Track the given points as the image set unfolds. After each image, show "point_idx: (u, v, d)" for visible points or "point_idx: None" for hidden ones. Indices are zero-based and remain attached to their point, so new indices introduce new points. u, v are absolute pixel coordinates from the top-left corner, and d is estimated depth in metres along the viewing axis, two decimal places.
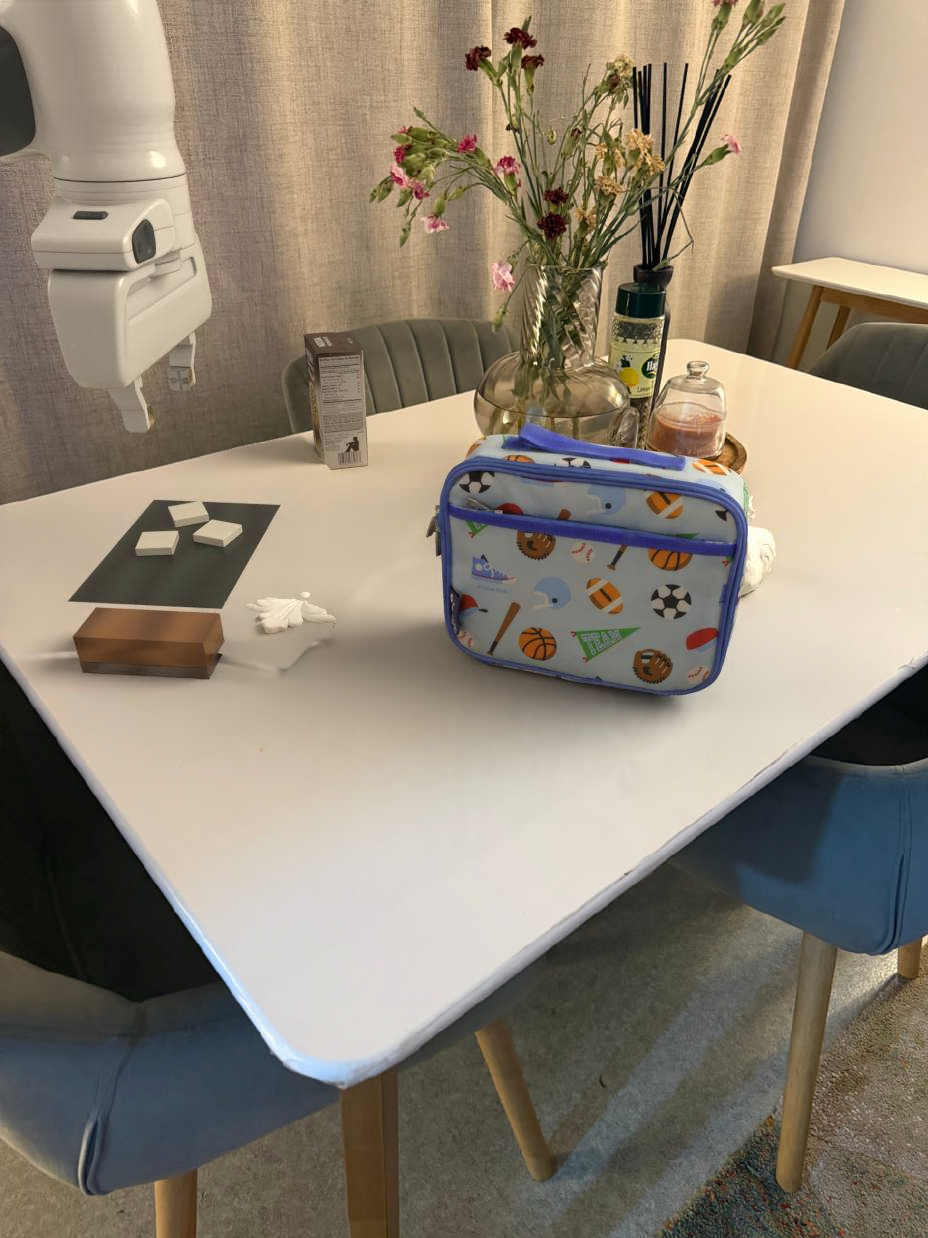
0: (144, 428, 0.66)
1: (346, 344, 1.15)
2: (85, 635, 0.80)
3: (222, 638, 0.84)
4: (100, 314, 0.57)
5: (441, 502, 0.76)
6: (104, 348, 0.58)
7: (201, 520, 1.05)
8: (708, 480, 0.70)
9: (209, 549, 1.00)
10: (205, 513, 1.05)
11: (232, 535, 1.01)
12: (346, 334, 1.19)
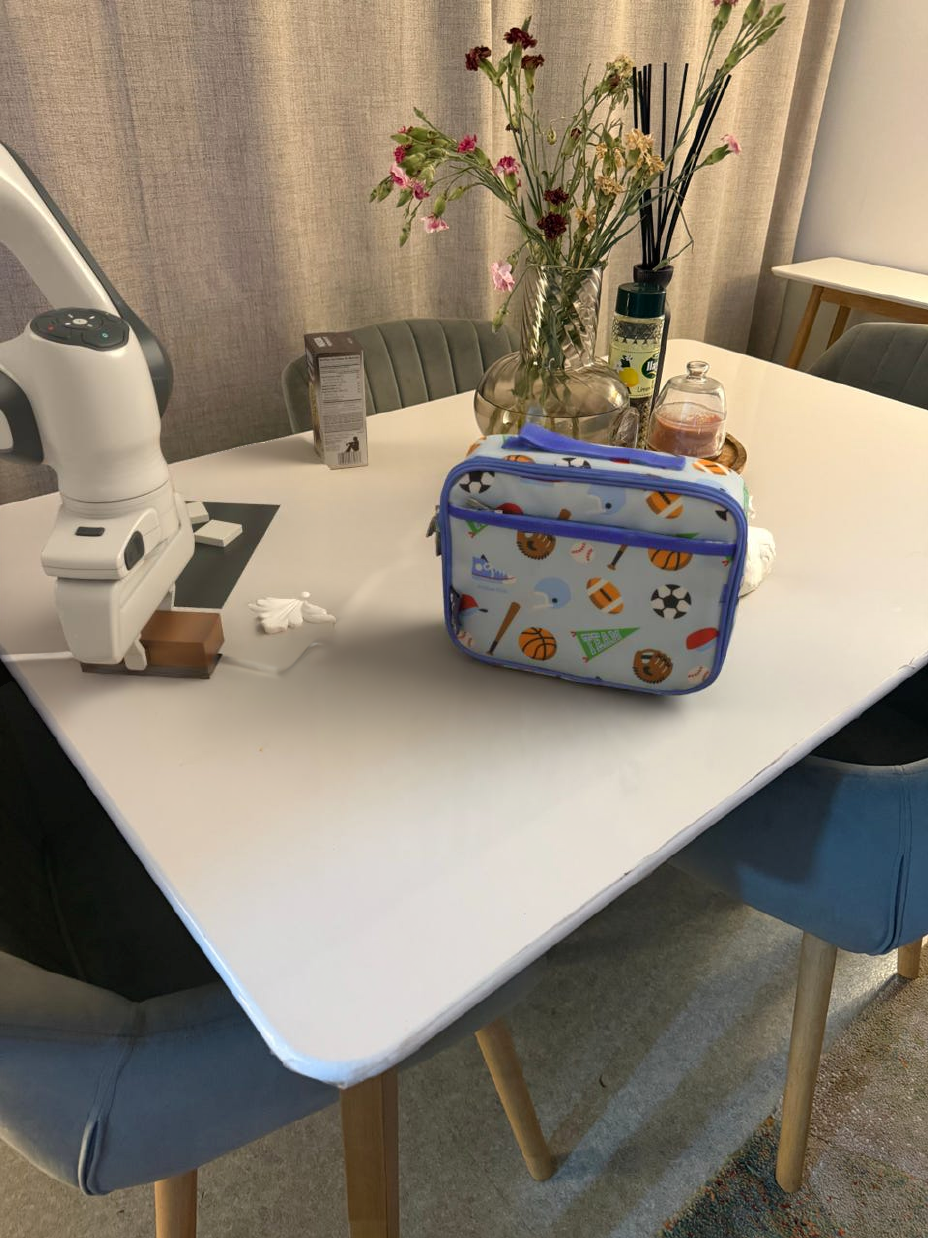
0: (142, 667, 0.79)
1: (346, 344, 1.15)
2: None
3: (222, 638, 0.84)
4: (98, 614, 0.69)
5: (441, 502, 0.76)
6: (101, 639, 0.70)
7: (201, 520, 1.05)
8: (708, 480, 0.70)
9: (209, 549, 1.00)
10: (205, 513, 1.05)
11: (232, 535, 1.01)
12: (346, 334, 1.19)
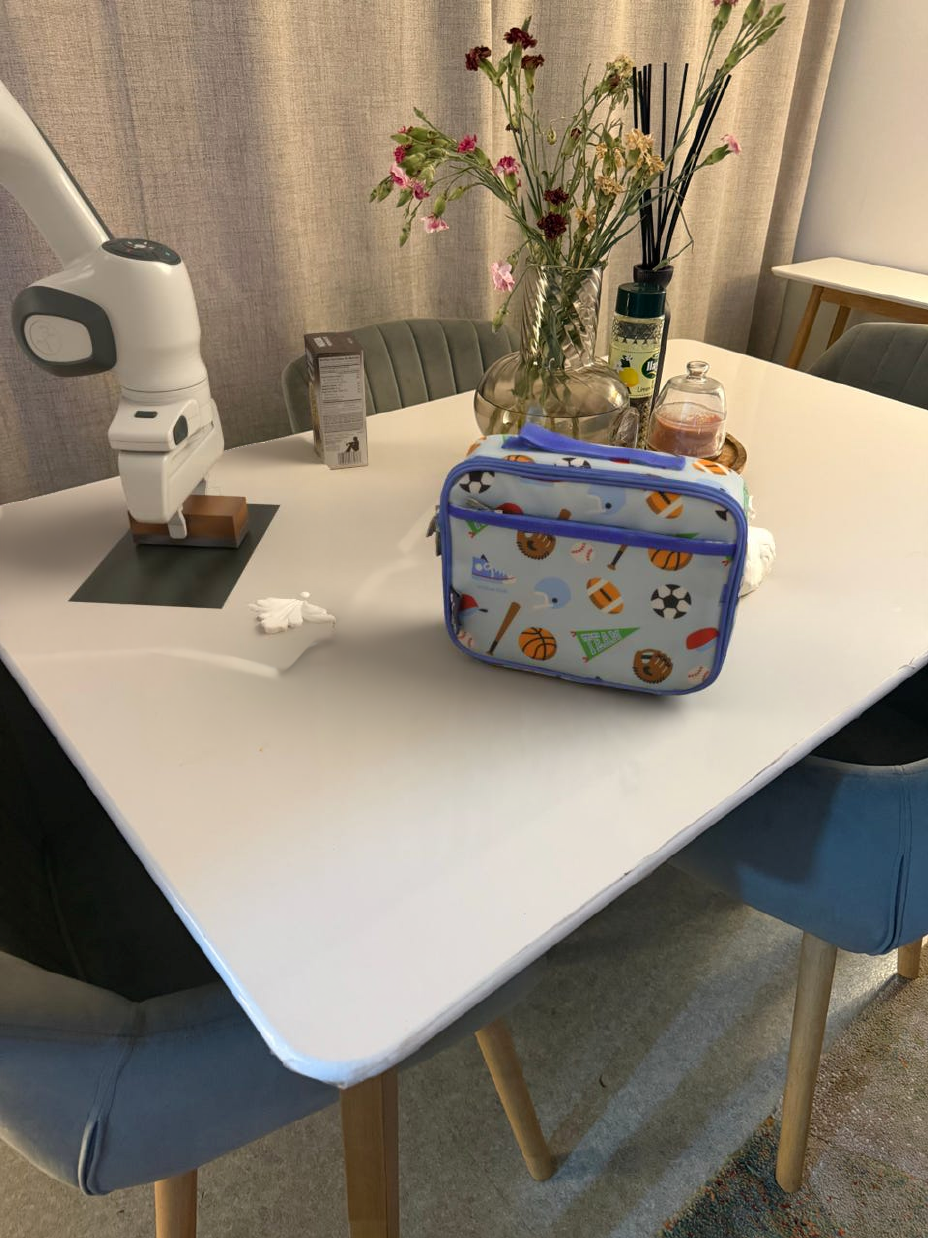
0: (183, 535, 0.98)
1: (346, 344, 1.15)
2: None
3: (247, 518, 1.03)
4: (152, 479, 0.88)
5: (441, 502, 0.76)
6: (154, 500, 0.89)
7: None
8: (708, 480, 0.70)
9: (209, 549, 1.00)
10: None
11: None
12: (346, 334, 1.19)
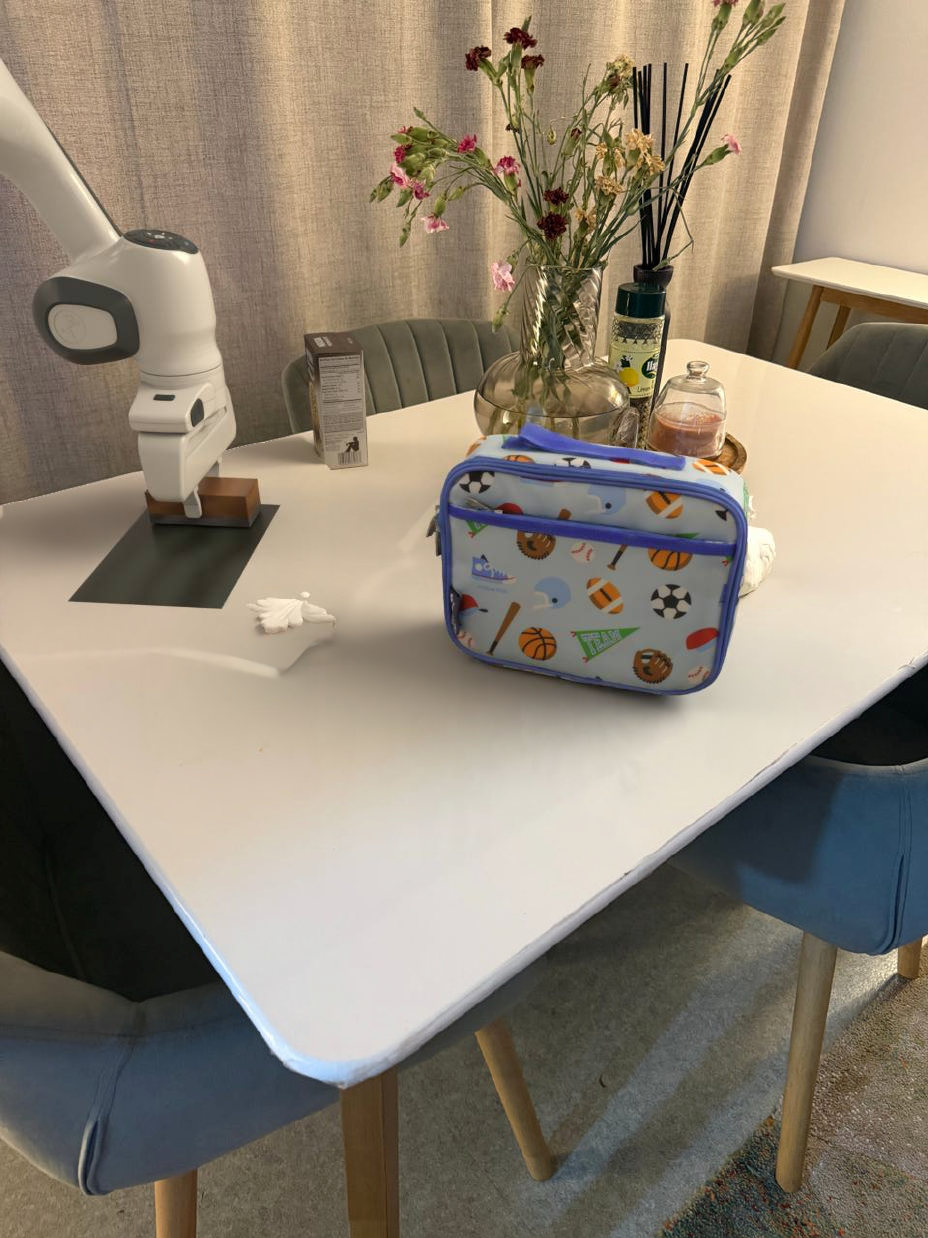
0: (198, 515, 1.02)
1: (346, 344, 1.15)
2: None
3: (259, 499, 1.07)
4: (170, 459, 0.92)
5: (441, 502, 0.76)
6: (172, 479, 0.93)
7: None
8: (708, 480, 0.70)
9: (209, 549, 1.00)
10: None
11: None
12: (346, 334, 1.19)
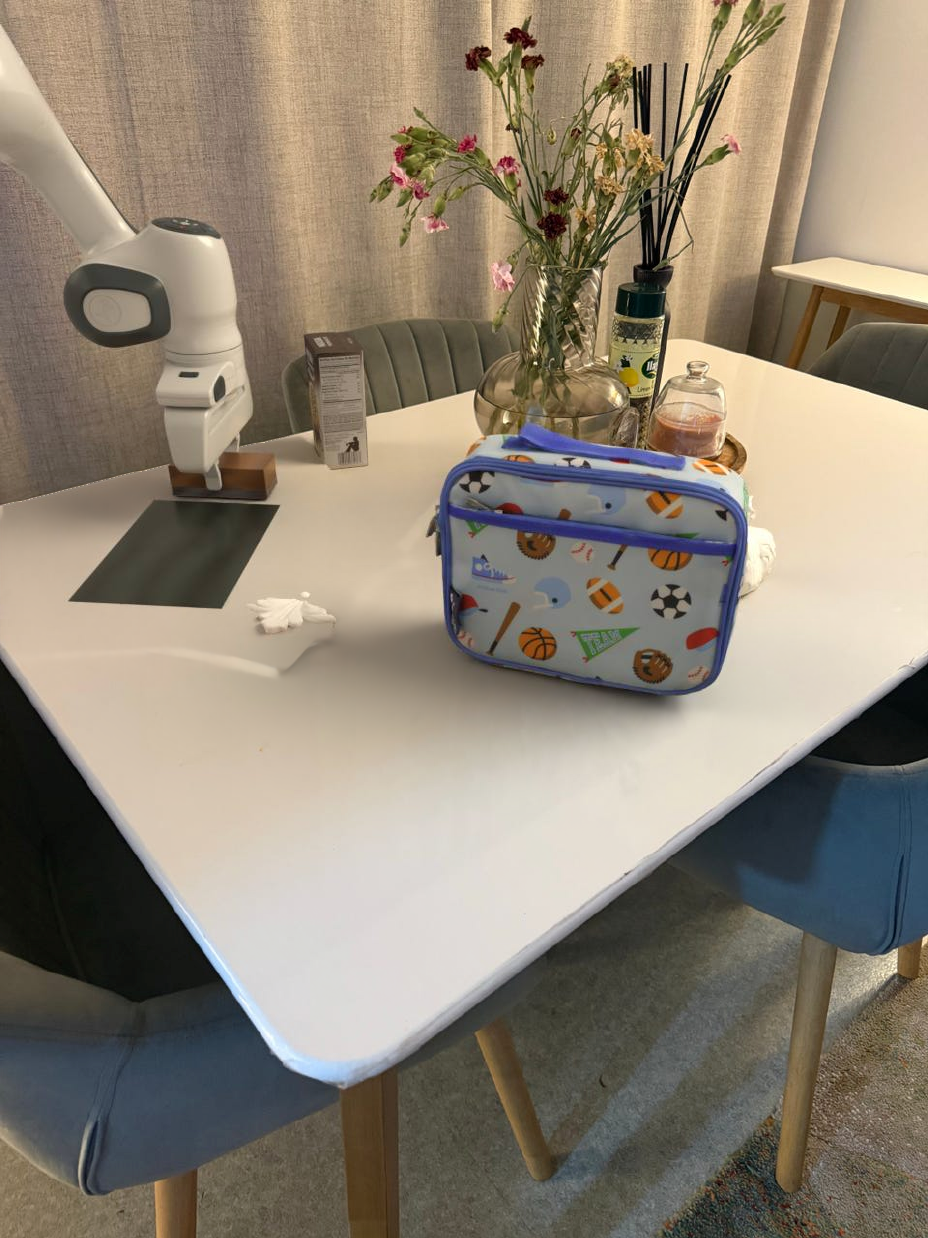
0: (218, 487, 1.08)
1: (346, 344, 1.15)
2: None
3: (275, 473, 1.13)
4: (194, 432, 0.98)
5: (441, 502, 0.76)
6: (196, 451, 0.99)
7: None
8: (708, 480, 0.70)
9: (209, 549, 1.00)
10: None
11: None
12: (346, 334, 1.19)
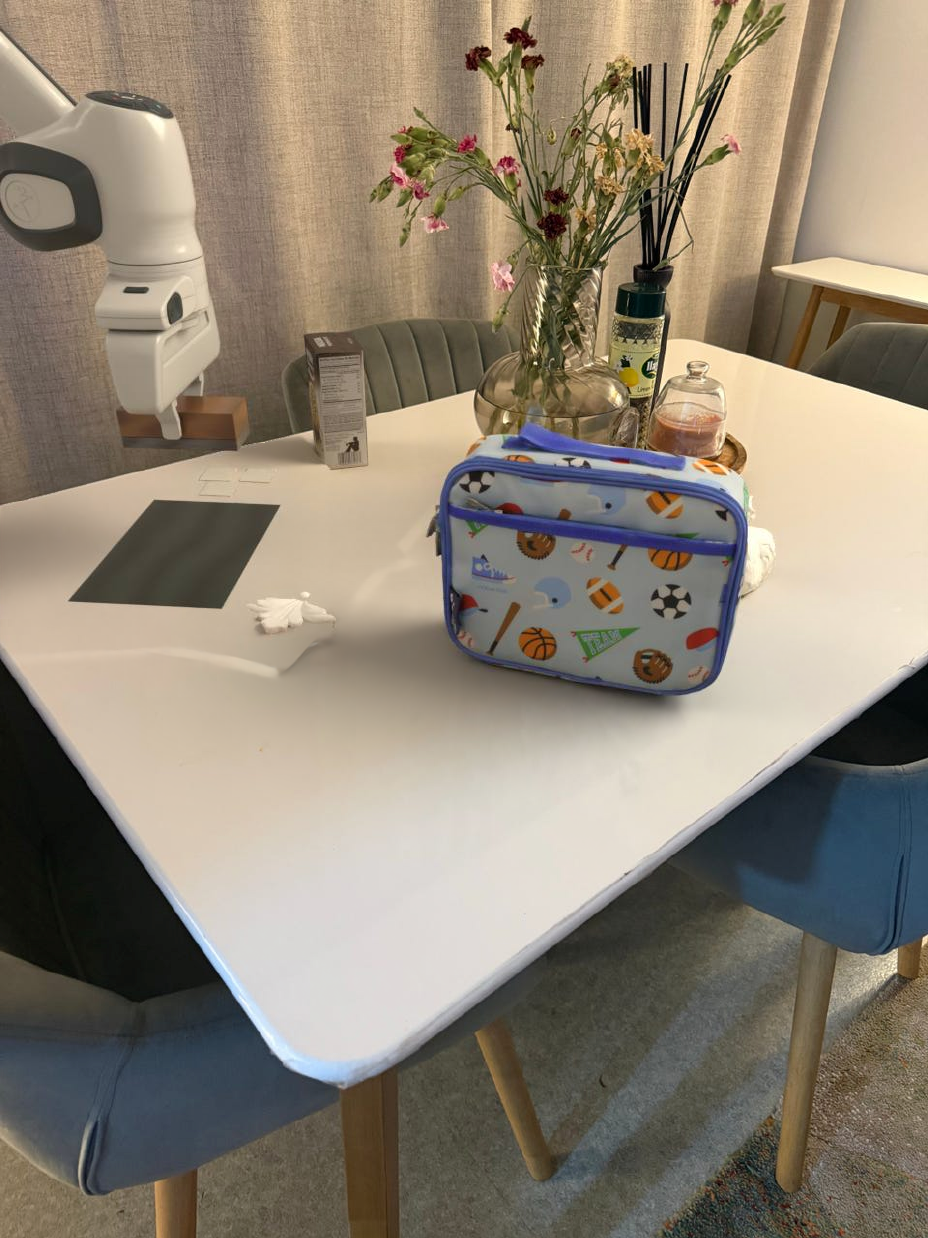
0: (177, 436, 0.89)
1: (346, 344, 1.15)
2: None
3: (247, 422, 0.94)
4: (144, 361, 0.79)
5: (441, 502, 0.76)
6: (146, 385, 0.80)
7: None
8: (708, 480, 0.70)
9: (209, 549, 1.00)
10: (228, 494, 1.12)
11: None
12: (346, 334, 1.19)
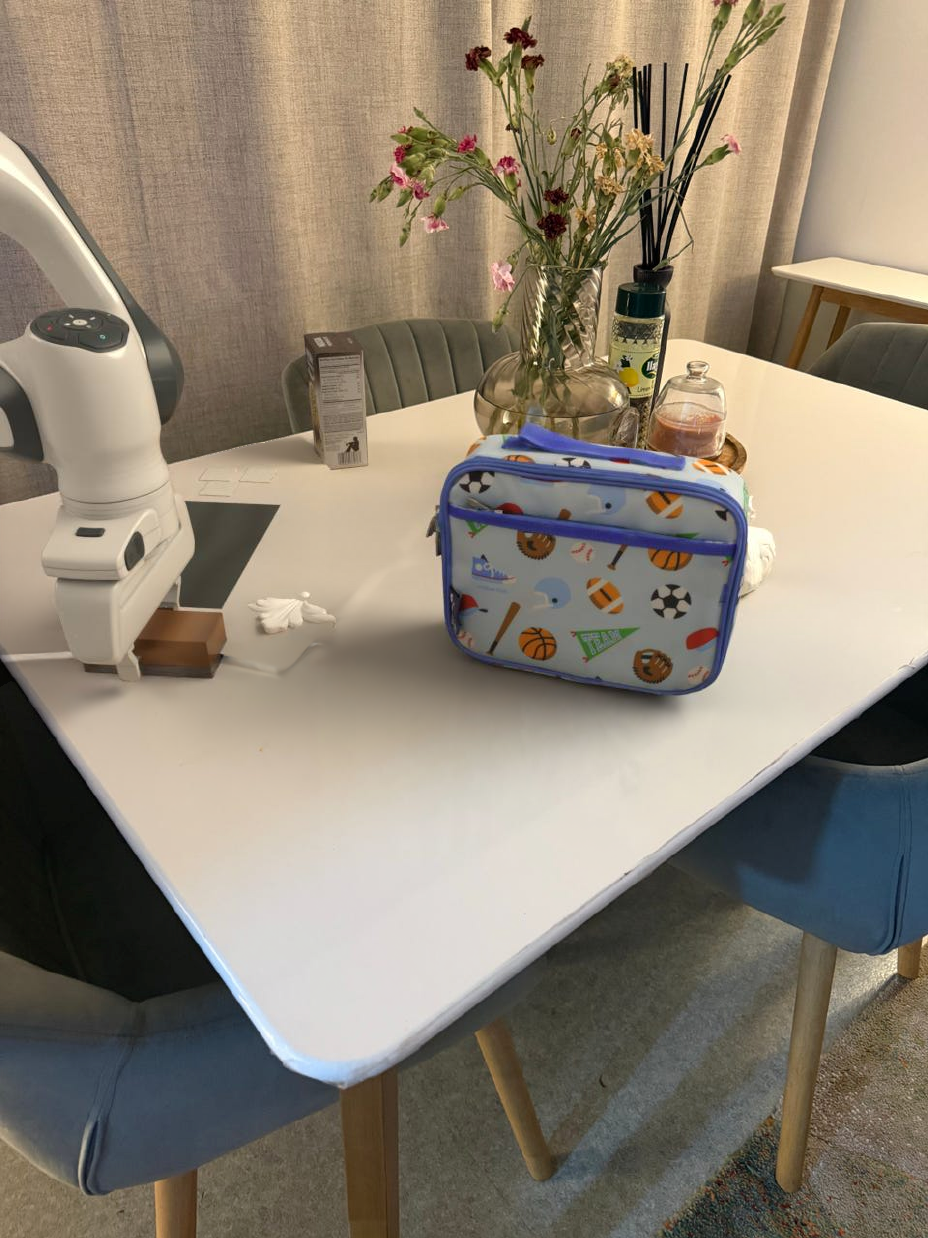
0: (135, 678, 0.78)
1: (346, 344, 1.15)
2: None
3: (225, 637, 0.84)
4: (98, 615, 0.69)
5: (441, 502, 0.76)
6: (101, 639, 0.70)
7: None
8: (708, 480, 0.70)
9: (209, 549, 1.00)
10: (228, 494, 1.12)
11: None
12: (346, 334, 1.19)
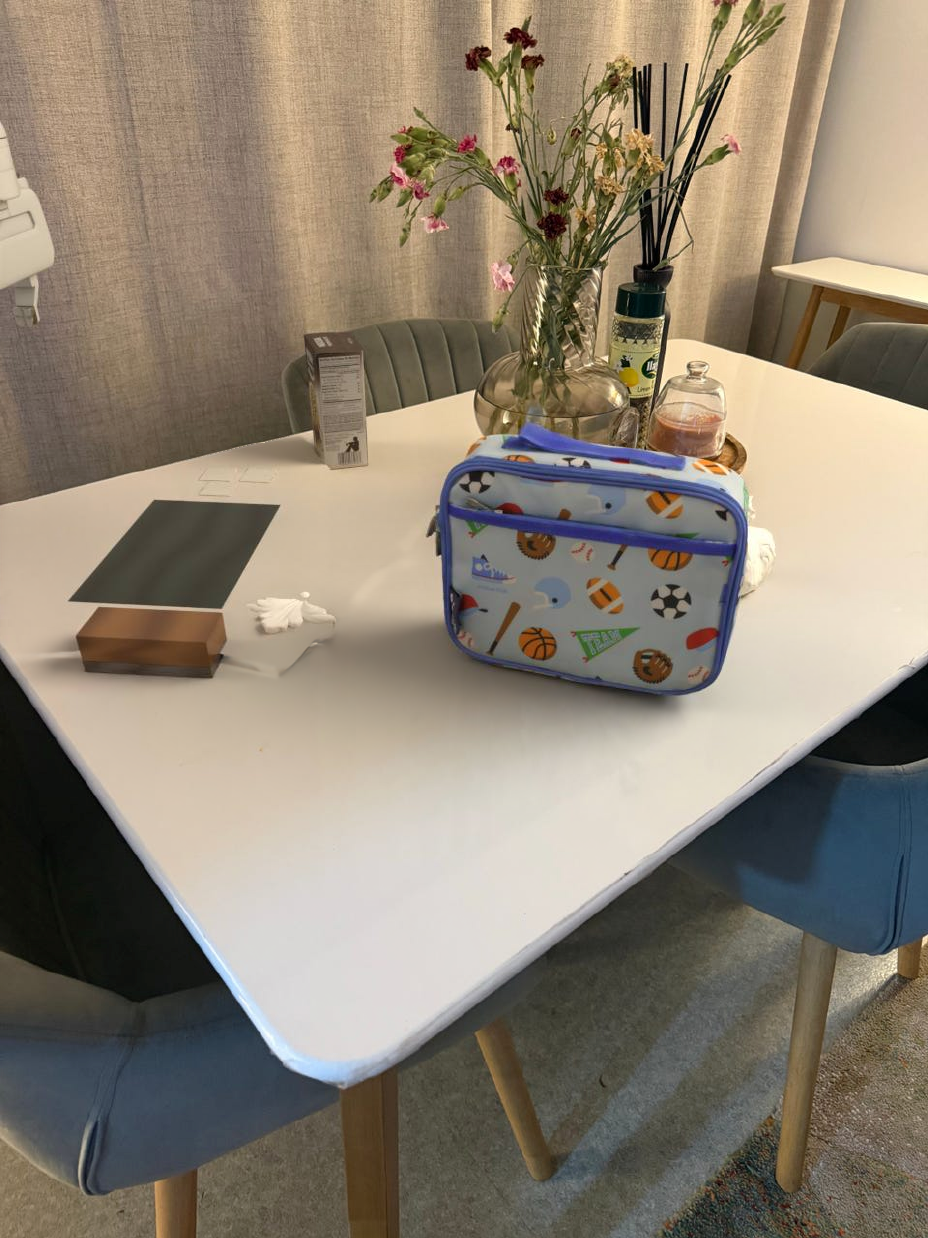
0: None
1: (346, 344, 1.15)
2: (88, 635, 0.80)
3: (225, 637, 0.84)
4: None
5: (441, 502, 0.76)
6: None
7: None
8: (708, 480, 0.70)
9: (209, 549, 1.00)
10: (228, 494, 1.12)
11: None
12: (346, 334, 1.19)
